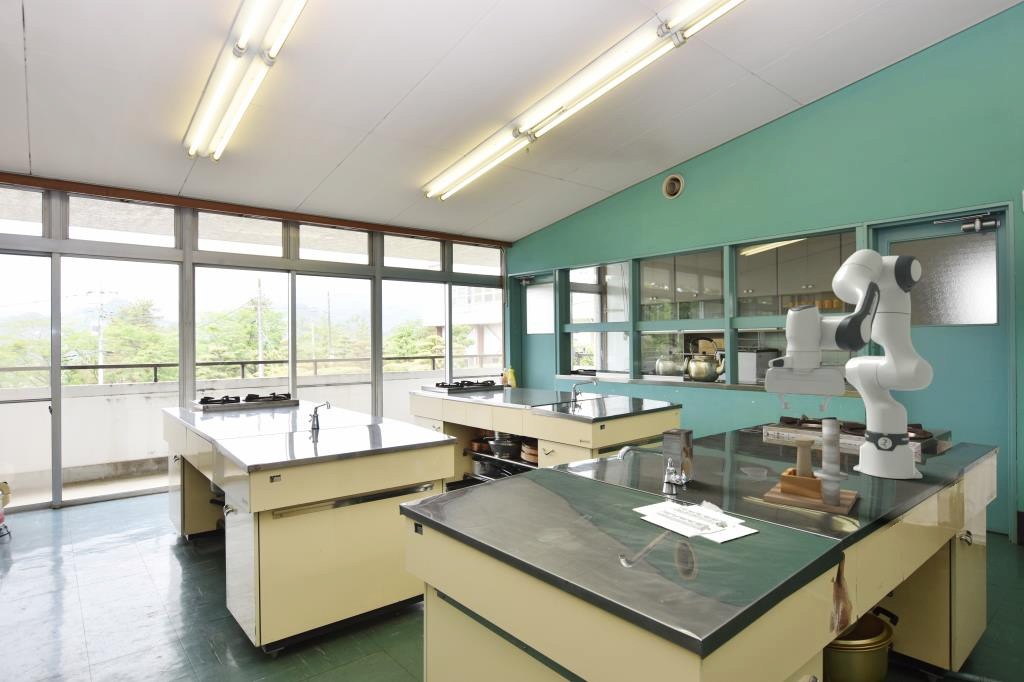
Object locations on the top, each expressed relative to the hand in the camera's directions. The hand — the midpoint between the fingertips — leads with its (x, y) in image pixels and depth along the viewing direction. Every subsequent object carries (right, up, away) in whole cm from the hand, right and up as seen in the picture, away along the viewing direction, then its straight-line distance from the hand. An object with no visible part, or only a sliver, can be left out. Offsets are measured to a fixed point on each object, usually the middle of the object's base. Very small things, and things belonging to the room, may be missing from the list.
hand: (804, 409), depth 156 cm
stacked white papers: (-39, -26, -20) cm, 50 cm away
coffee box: (-31, -25, +18) cm, 43 cm away
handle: (0, -23, 0) cm, 23 cm away
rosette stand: (+1, -25, -2) cm, 25 cm away
